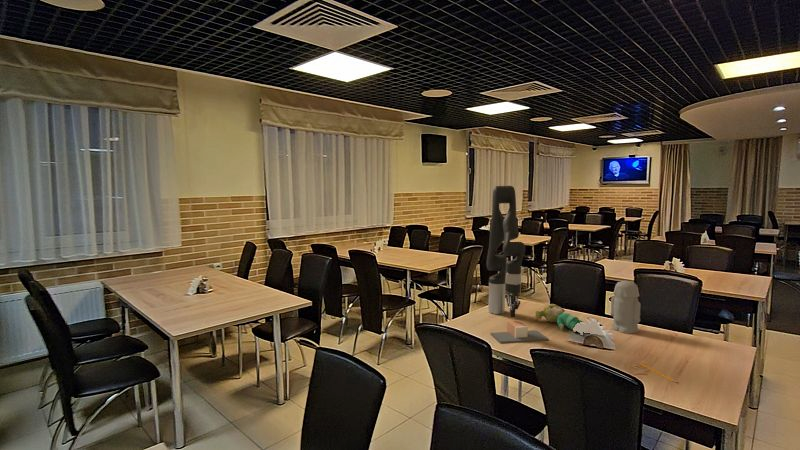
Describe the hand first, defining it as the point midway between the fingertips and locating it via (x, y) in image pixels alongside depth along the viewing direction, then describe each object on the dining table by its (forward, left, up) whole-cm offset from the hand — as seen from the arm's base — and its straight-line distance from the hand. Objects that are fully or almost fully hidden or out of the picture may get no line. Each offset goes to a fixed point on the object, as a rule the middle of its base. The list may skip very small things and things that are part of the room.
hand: (512, 316), depth 211 cm
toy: (-4, +30, -8) cm, 32 cm away
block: (0, 0, -4) cm, 4 cm away
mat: (+8, 0, -8) cm, 11 cm away
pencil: (+53, +36, -8) cm, 64 cm away
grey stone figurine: (+6, +57, -8) cm, 58 cm away
